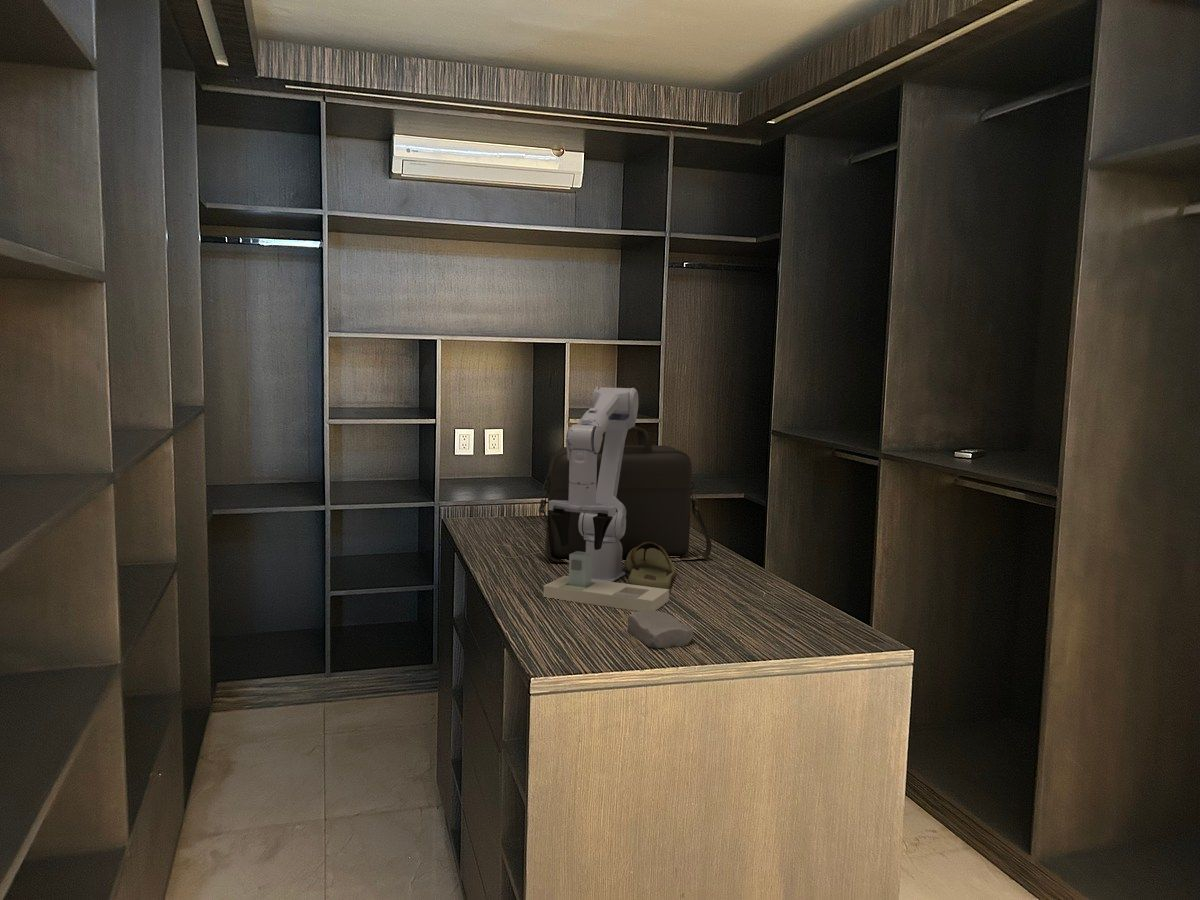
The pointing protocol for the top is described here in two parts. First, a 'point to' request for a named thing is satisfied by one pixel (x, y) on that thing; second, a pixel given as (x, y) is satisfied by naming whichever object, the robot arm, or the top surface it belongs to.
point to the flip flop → (649, 566)
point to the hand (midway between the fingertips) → (581, 547)
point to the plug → (580, 569)
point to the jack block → (608, 594)
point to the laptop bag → (634, 499)
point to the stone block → (658, 629)
